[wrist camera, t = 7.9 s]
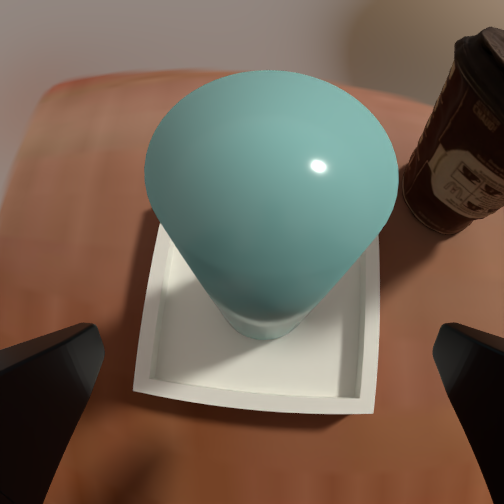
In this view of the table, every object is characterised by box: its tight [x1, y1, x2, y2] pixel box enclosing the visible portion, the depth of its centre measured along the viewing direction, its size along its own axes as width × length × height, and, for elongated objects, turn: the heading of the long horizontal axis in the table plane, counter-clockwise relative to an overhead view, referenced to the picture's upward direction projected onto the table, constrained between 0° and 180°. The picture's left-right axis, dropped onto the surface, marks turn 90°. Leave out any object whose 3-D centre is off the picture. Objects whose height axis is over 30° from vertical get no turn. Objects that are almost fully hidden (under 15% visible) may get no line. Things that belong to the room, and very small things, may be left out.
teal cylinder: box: [144, 70, 399, 340], centre depth 11 cm, size 5×5×12 cm
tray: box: [133, 223, 380, 414], centre depth 17 cm, size 12×12×2 cm
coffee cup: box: [402, 27, 504, 234], centre depth 14 cm, size 9×8×13 cm
